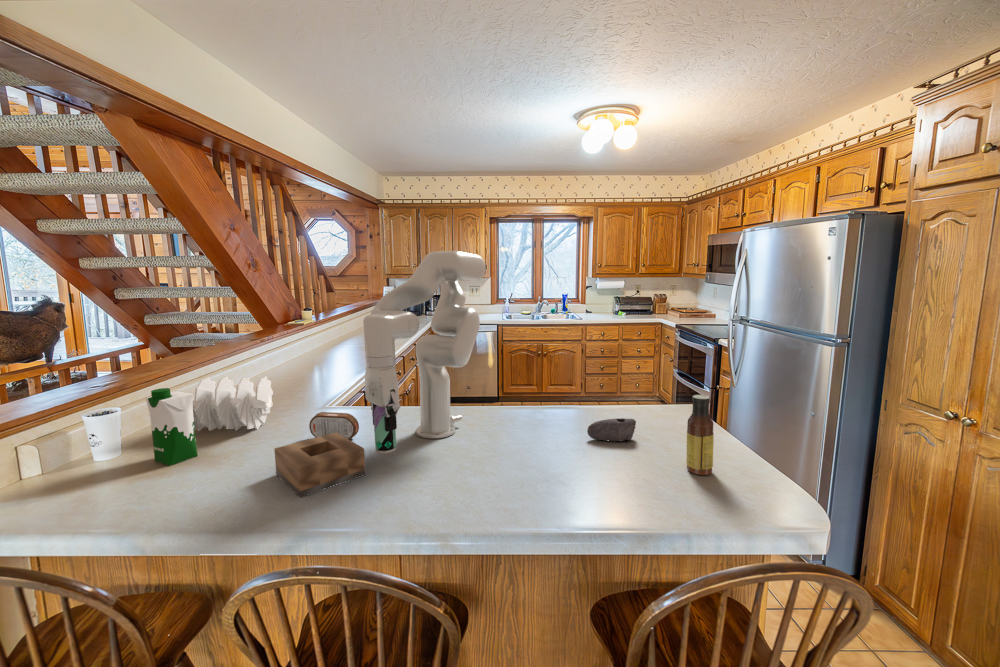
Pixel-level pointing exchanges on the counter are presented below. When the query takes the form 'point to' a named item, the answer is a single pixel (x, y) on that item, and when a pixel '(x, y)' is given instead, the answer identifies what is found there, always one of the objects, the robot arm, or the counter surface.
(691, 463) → the sauce bottle
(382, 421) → the spray can
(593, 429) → the perforated stone tool
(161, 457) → the milk carton
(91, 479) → the counter surface
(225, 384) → the spiral staircase
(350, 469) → the socket block
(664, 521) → the counter surface
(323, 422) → the tin
